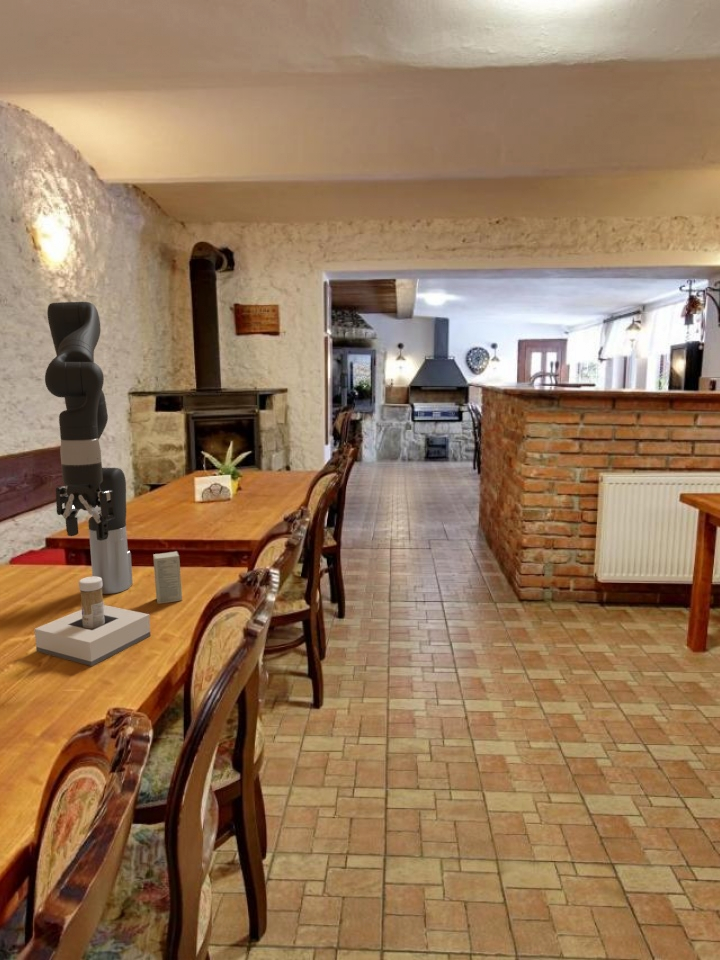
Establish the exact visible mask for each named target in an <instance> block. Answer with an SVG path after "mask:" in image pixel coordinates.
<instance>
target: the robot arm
mask: <svg viewBox="0 0 720 960" xmlns="http://www.w3.org/2000/svg"><path fill="white" fill-rule="evenodd" d="M46 314H47V321H48V325H49V329H50V331H49V332H50V335H51V339H52V343H53V346H54V352H55V354H56V356H55V357H54V358H53V359H52V360H51V361H50V363H48V365H47V367H46V371H45V375H44V383H45V386H46V388H47V391H48V392H49V393H50V394H51V395H53V396H54V397H56V398H57V397H58V398H64V403H65V410H63V411H61V412H59V416H58V423H59V435H60V446H59V447H60V448H59V449H60V451H59V453H60V464H61V476H62V483H63V486H59V487H55V500H56V501H55V503H56V514H57V515H58V516H62V518H63V519H64V520H65V528H66V530H65V531H66V533H67V536H68V537H75V536H77V535H79V523H78V517H77V515H78V513H79V512H80V511H81V510H83V511H87V512H88V514H89V515H91V516H90V517H89V519H88V523H87V524H88V536H89V545H90V546H89V548H90V561H91V574H92V576H91V577H93V576H96V577H100V578H102V583H103V586H102V595H111V594H117V593H121V592H125V591H127V590H128V589H129V588H130V587H131V586H133V573H132V572H133V571H132V570H133V569H132V568H133V567H132V553H131V551H130V550H129V549H128V535H127V519H126V518H127V481H126V477H125V473H124V470H122V469H121V468H118V467H103V464H102V450H101V445H100V439H101V436H102V434H103V433H104V430H105V429H106V426H107V424H108V419H109V416H108V410H107V408H108V407H107V402H106V397H105V396H106V395H105V394H104V391H103V387H104V380H105V376H104V372H103V370H102V368H101V367H100V366H99V365H98V364H97V363H95V357H94V356H95V355H94V353H95V349H96V347H97V344H98V342H99V339H100V336H101V320H100V316H99V312H98V309H97V308H96V306H95V305H94V304H93V303H91V302H90V301H65V302H62V301H61V302H51V303H49V305H48V307H47V312H46ZM63 507H64V508H63Z"/></svg>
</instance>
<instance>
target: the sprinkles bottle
mask: <svg viewBox="0 0 720 960" xmlns="http://www.w3.org/2000/svg"><path fill="white" fill-rule="evenodd" d="M102 586H103V583H102V578H100V577H96V576H93V577H92V576H87V577H82V578H81V579H79V581H78V589H79V591H80V592H79V593H80V602H81V605H80V607H81V610H82V622H83V628H86V629H90V630H93V629H95V628H98V627H100V626H102V625H104V623H105V619H104V605H105V604H104V599H103V595H104V594H102Z"/></svg>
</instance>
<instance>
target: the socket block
mask: <svg viewBox="0 0 720 960" xmlns="http://www.w3.org/2000/svg"><path fill="white" fill-rule="evenodd" d="M103 605H104V619H105V623H104V625H102V626H100V627H98V628H95V629H93V630H90V629H86V628H83V622H82V609H79V610H77V611H74V612H72V613H70V614H68V615H65V616H63V617H62V616H61V617H60V618H57V619H55V620H52V621H51V622H48V623H45V624H42V625H40V626H38V627H36V628H34V635H35V636H34V637H35V639H34V640H35V648H36V652H38V653H41V654H46V655H48V656H53V657H56V658H60V659H64V660H66V661H70V662H74V663H79V664H82V665H85V666H89V667H93V666H95V665H97V664H99V663H101V662H103V661H104V660H106V659H109V658H111V657H113V656H115V655H116V654H119V653H120V652H122V651H124V650H126V649H128V648H129V647H132V646H135V645H136V644H137V643H140V642H142V641H143V640H145V639H147V638H149V637H151V623H150V621H151V620H150V619H151V618H150V614H149V613H144V612H140V611H136V610H135V611H134V610H130V609H127V608H126V609H125V608H119V607H115V606H111V605H106V604H103Z"/></svg>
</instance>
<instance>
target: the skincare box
mask: <svg viewBox="0 0 720 960" xmlns="http://www.w3.org/2000/svg"><path fill="white" fill-rule="evenodd" d="M152 555H153V557H152V558H153V568H154V569H153V571H154V581H155V582H154V583H155V597H156V601H157V605H158V604H167V603H173V602H179V601H183V594H182V593H183V592H182V580H181V578H182V577H181V563H180V555H179V552H178V551H177V550H175V551H169V552H162V553H155V554H154V553H153V554H152Z"/></svg>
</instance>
